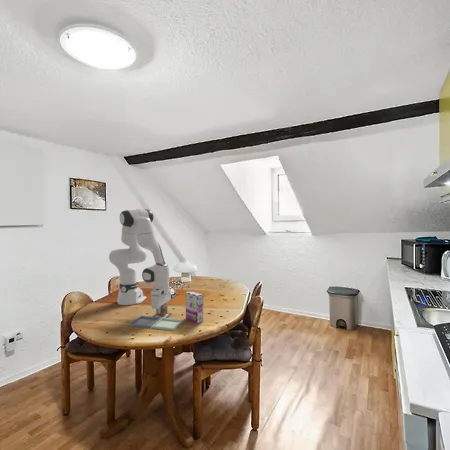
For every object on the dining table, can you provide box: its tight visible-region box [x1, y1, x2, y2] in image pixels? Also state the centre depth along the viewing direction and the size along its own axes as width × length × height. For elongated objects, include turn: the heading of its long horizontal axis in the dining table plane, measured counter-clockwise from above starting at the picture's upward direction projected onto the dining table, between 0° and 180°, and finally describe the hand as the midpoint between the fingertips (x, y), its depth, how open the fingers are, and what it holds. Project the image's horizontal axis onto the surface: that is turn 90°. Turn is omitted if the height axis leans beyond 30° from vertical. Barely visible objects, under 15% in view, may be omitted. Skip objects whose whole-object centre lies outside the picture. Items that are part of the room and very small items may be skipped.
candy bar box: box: [185, 290, 204, 324], centre depth 164 cm, size 11×5×16 cm, turn 44°
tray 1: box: [128, 315, 161, 329], centre depth 159 cm, size 13×13×2 cm
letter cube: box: [155, 304, 168, 316], centre depth 171 cm, size 5×5×5 cm
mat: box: [151, 312, 173, 318], centre depth 171 cm, size 10×10×1 cm
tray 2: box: [151, 317, 184, 331], centre depth 156 cm, size 13×13×2 cm
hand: (161, 311), depth 171 cm, fingers open, 5 cm apart
